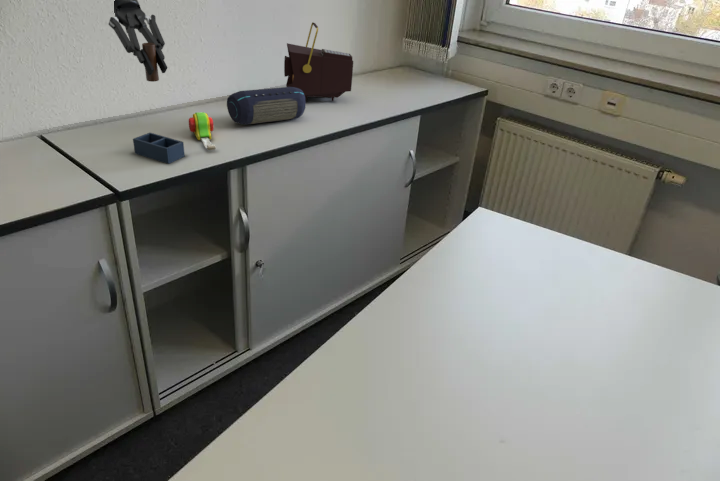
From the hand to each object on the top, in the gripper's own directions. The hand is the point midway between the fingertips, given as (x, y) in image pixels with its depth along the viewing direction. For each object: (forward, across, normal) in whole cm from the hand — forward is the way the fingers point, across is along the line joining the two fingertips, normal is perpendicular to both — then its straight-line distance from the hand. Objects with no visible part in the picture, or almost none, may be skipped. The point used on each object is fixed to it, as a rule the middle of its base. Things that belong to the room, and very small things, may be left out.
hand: (158, 71), depth 152 cm
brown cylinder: (0, 0, +5) cm, 5 cm away
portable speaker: (+21, +28, +1) cm, 35 cm away
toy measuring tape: (+23, +3, 0) cm, 23 cm away
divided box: (+25, -12, -2) cm, 27 cm away
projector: (+14, +57, +8) cm, 59 cm away
